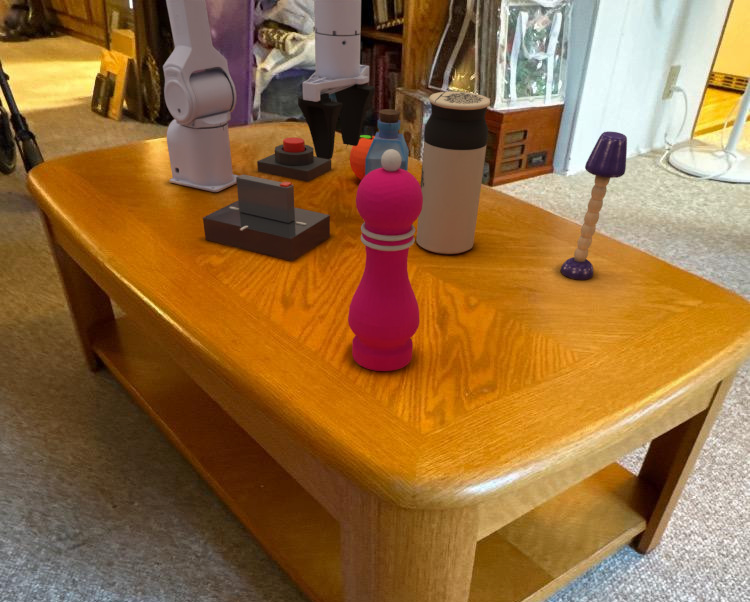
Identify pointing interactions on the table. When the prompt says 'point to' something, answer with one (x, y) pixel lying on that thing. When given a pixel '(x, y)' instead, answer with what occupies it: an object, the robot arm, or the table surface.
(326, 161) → the control block
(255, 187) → the upright grey panel
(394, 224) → the pepper mill
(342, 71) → the robot arm
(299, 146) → the button
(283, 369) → the table surface
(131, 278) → the table surface
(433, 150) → the travel mug
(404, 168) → the perfume bottle
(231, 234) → the base
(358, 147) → the clementine
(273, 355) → the table surface
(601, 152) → the toy lamp
